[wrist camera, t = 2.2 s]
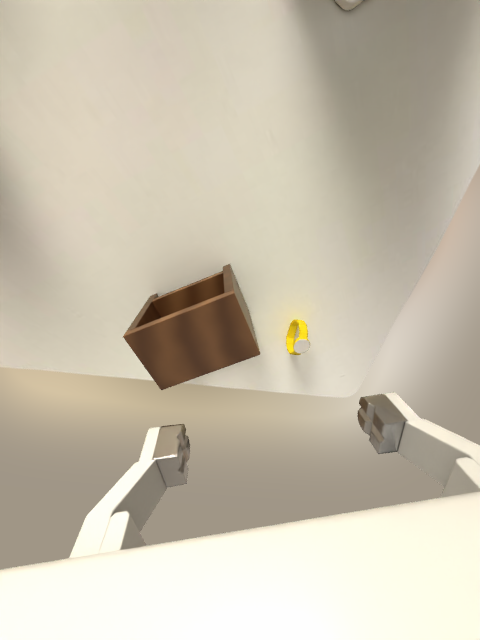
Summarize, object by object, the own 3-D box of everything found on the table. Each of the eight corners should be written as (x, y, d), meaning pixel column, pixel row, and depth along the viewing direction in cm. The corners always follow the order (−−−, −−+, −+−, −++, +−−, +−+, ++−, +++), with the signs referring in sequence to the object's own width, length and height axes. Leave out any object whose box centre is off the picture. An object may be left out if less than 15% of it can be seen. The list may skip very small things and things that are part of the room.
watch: (294, 344, 47) (304, 363, 42) (280, 342, 46) (288, 361, 41) (304, 316, 44) (316, 332, 39) (289, 313, 44) (299, 330, 39)
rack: (229, 263, 39) (234, 292, 28) (249, 311, 43) (260, 354, 32) (150, 296, 40) (122, 336, 29) (176, 339, 44) (161, 390, 33)
